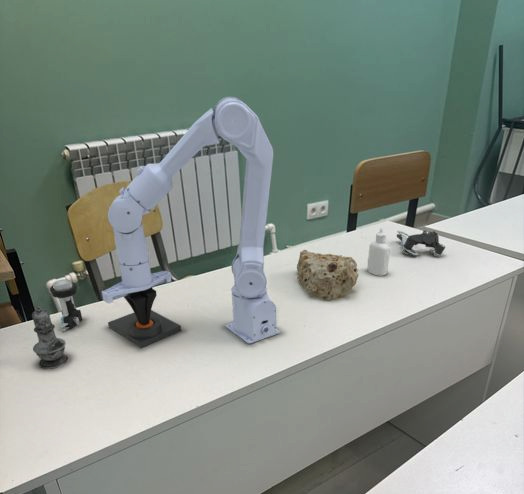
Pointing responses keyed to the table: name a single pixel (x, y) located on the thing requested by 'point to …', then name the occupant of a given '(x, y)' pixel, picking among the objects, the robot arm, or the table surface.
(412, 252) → the bicycle component
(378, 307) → the table surface
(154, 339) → the orange button switch
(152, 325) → the round orange button cap
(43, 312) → the grey tiered figurine
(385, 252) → the eye dropper bottle
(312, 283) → the rock
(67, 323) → the white black upright piece
